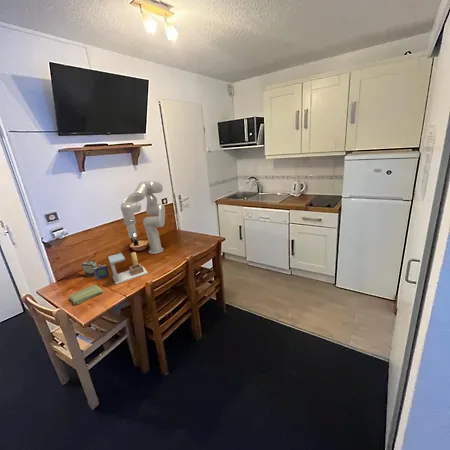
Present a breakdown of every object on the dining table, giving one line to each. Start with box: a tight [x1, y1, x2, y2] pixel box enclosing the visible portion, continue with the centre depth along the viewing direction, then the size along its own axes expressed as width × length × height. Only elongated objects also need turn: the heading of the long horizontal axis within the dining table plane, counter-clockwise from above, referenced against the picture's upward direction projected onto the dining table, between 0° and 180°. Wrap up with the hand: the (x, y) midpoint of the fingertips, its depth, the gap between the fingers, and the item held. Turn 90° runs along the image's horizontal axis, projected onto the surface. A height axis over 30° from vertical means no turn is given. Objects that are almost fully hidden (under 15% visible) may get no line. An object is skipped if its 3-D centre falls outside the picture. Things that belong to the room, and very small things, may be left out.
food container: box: [80, 260, 98, 278], centre depth 187 cm, size 12×6×10 cm, turn 71°
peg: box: [130, 251, 139, 266], centre depth 190 cm, size 4×4×12 cm
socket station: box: [107, 252, 149, 285], centre depth 178 cm, size 14×22×16 cm, turn 122°
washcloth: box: [68, 284, 104, 306], centre depth 159 cm, size 13×18×3 cm
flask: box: [93, 263, 111, 281], centre depth 179 cm, size 9×3×11 cm, turn 121°
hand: (135, 243), depth 185 cm, fingers open, 9 cm apart
